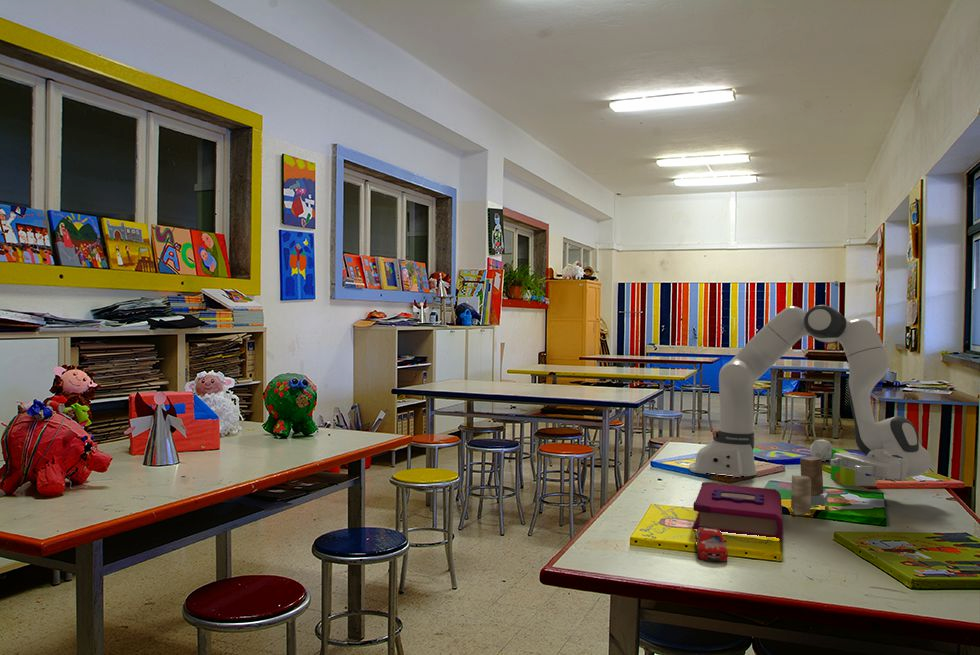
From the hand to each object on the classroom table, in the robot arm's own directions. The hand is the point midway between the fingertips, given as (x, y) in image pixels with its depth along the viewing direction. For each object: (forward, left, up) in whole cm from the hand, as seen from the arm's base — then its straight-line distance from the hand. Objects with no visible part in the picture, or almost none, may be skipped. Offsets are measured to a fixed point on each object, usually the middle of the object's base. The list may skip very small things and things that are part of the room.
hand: (844, 466), depth 212 cm
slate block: (-9, -6, -11) cm, 16 cm away
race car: (-37, -58, -12) cm, 70 cm away
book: (-30, -31, -12) cm, 44 cm away
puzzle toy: (+8, +33, -11) cm, 36 cm away
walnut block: (-9, -6, -7) cm, 13 cm away
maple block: (-13, -15, -11) cm, 23 cm away
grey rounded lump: (+3, +68, -11) cm, 69 cm away
